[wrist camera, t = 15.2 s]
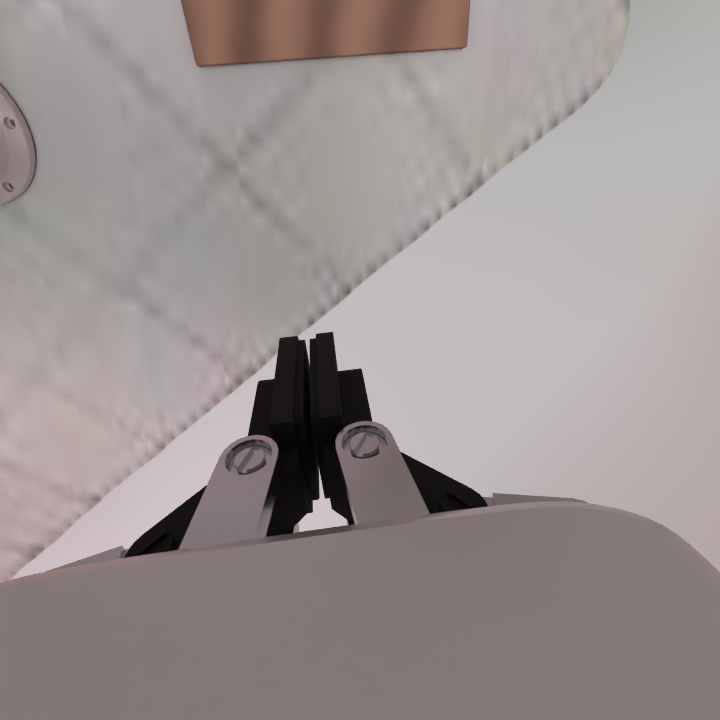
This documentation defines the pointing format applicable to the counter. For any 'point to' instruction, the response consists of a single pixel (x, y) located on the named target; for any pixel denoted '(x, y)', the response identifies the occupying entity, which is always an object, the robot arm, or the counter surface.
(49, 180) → the counter surface
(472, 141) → the counter surface
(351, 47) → the walnut board
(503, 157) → the counter surface
